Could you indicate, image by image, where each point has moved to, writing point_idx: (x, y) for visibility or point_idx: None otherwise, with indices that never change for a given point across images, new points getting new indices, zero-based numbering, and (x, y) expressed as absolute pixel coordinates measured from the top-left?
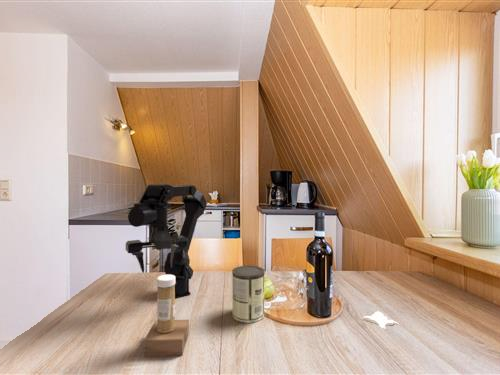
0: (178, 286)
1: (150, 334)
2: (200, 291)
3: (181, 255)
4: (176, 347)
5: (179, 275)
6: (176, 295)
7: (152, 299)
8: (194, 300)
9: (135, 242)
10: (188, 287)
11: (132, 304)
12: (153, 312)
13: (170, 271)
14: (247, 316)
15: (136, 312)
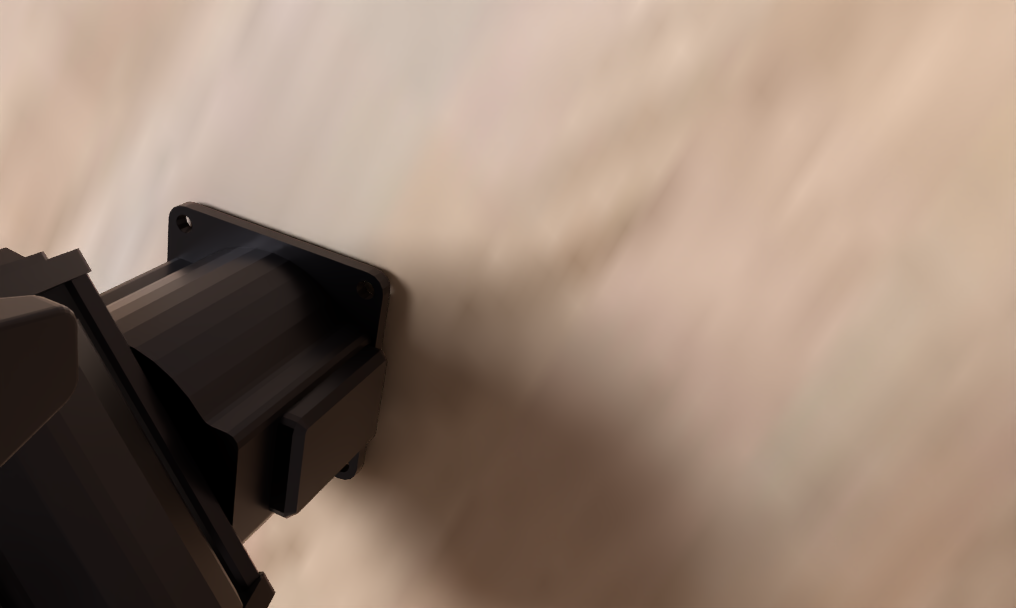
0: (236, 327)
1: None
2: (61, 184)
3: None
4: None
5: (92, 344)
6: (333, 296)
7: (597, 480)
8: (214, 10)
9: None
10: (134, 279)
11: (864, 574)
12: (809, 131)
13: (161, 536)
14: None
15: (981, 331)
